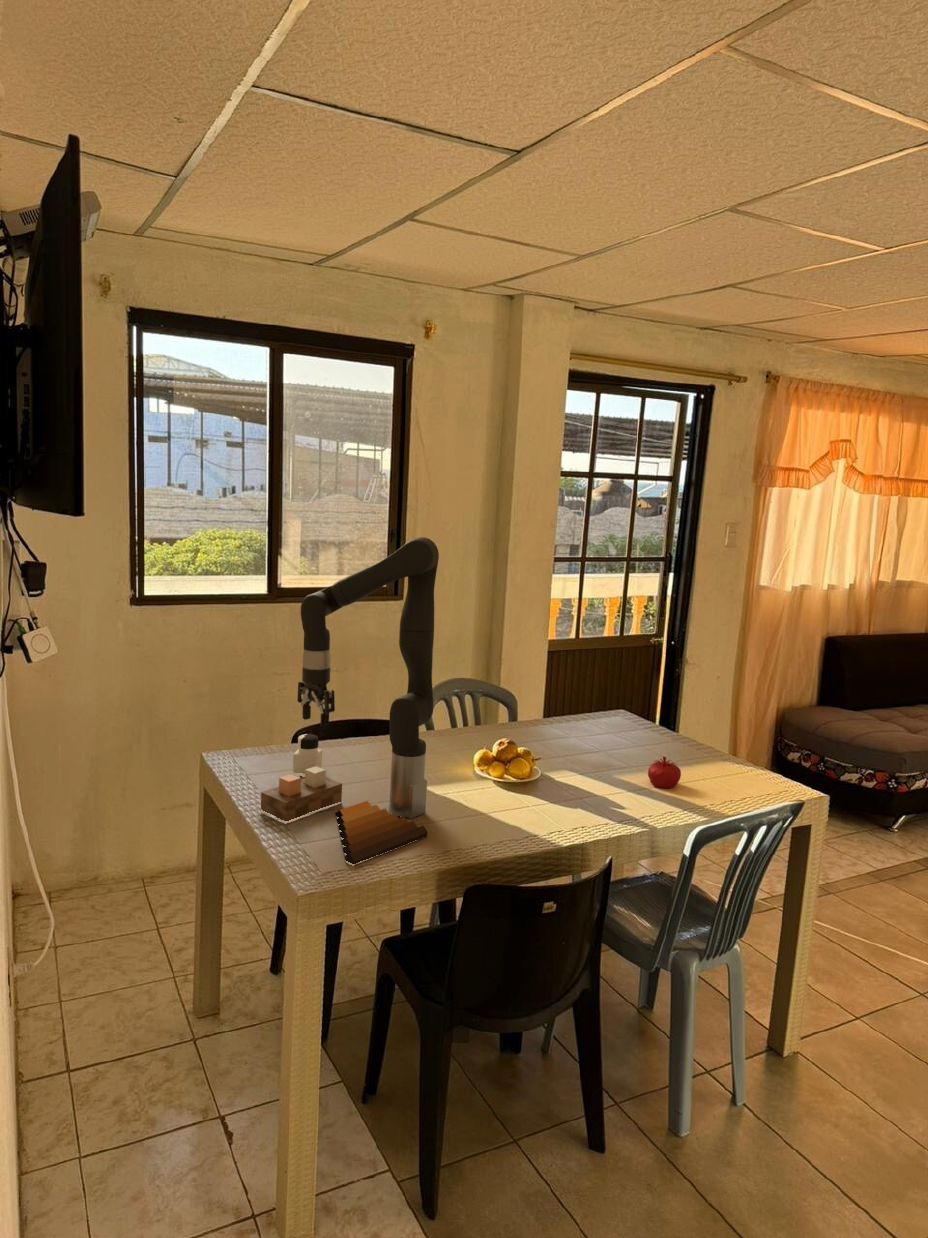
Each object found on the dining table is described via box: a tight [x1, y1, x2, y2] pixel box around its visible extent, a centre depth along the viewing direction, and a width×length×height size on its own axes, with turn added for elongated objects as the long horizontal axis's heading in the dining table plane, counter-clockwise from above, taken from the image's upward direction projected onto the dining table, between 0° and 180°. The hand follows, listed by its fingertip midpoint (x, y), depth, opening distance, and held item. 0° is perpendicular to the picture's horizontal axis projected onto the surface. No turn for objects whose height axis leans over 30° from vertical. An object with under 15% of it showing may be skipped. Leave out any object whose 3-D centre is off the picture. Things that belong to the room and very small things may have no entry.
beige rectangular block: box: [305, 766, 327, 788], centre depth 238 cm, size 4×4×6 cm
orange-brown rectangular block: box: [278, 773, 302, 797], centre depth 231 cm, size 4×4×6 cm
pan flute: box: [334, 800, 429, 864], centre depth 221 cm, size 25×3×25 cm
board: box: [260, 777, 343, 821], centre depth 235 cm, size 10×20×6 cm, turn 142°
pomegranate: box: [647, 756, 682, 789], centre depth 270 cm, size 10×10×9 cm
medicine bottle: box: [292, 733, 323, 774], centre depth 261 cm, size 7×7×12 cm
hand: (315, 722), depth 238 cm, fingers open, 8 cm apart
